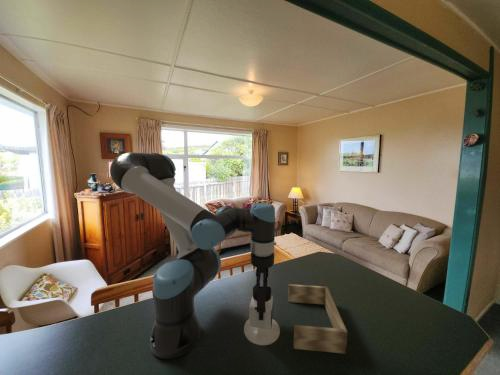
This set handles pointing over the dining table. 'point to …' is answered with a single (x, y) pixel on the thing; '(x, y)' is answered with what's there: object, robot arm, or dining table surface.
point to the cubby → (318, 336)
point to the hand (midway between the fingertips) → (261, 317)
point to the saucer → (262, 334)
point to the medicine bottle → (267, 304)
